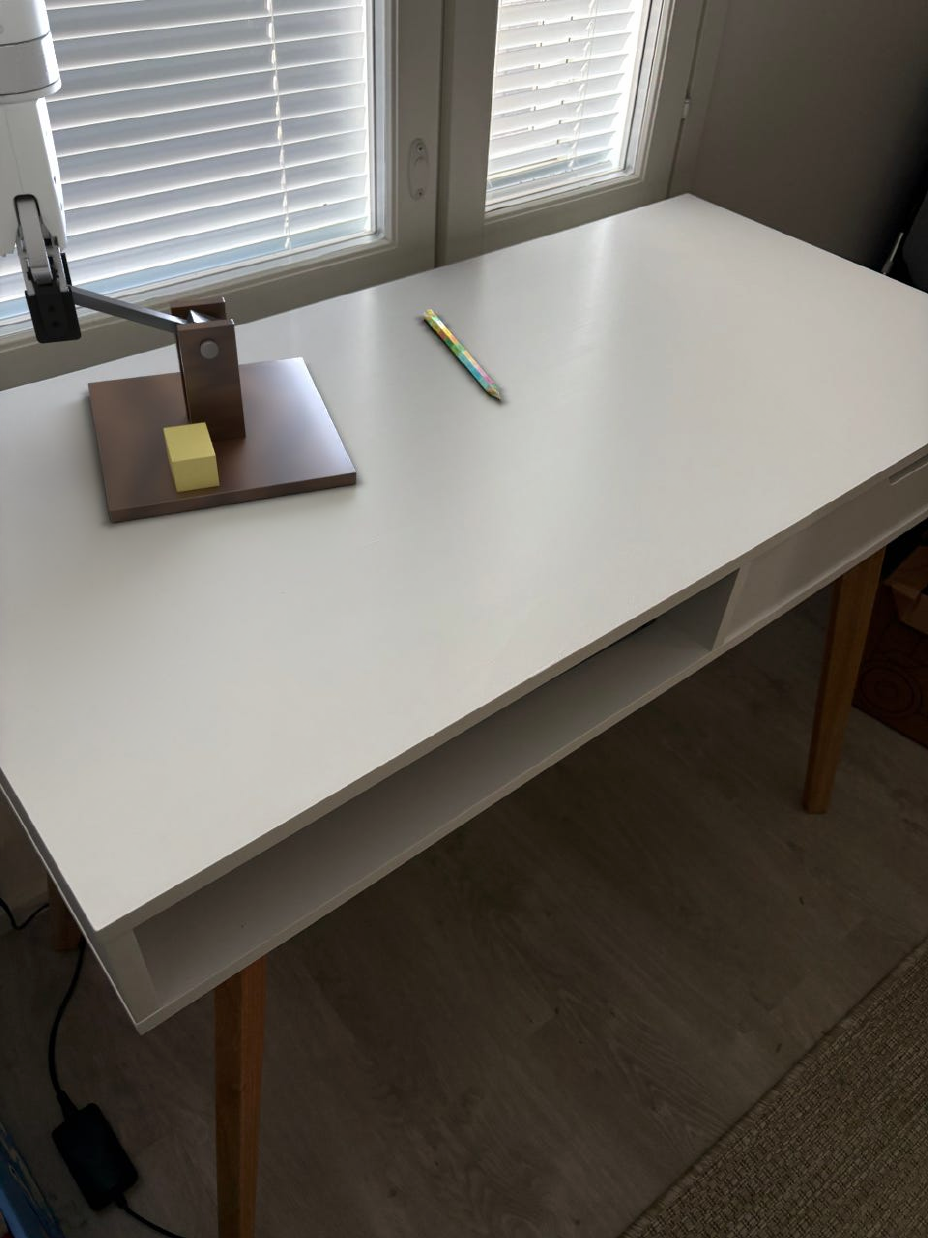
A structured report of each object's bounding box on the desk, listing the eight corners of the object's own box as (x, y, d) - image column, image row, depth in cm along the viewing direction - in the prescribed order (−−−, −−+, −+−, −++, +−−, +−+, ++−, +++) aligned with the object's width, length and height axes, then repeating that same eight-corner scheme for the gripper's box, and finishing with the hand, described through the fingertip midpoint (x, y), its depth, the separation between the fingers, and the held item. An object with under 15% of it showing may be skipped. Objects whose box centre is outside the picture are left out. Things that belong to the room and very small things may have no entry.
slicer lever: (37, 314, 75) (45, 285, 73) (34, 285, 78) (41, 256, 77) (220, 365, 82) (230, 339, 81) (210, 336, 86) (219, 311, 85)
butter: (219, 486, 82) (215, 455, 80) (177, 492, 81) (171, 461, 79) (209, 452, 86) (205, 421, 84) (168, 458, 85) (163, 427, 83)
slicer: (112, 523, 80) (81, 392, 72) (89, 394, 93) (62, 271, 85) (356, 483, 86) (353, 358, 78) (302, 367, 99) (295, 250, 91)
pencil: (506, 403, 97) (433, 317, 108) (507, 392, 96) (433, 308, 108) (494, 405, 96) (421, 319, 108) (495, 395, 96) (422, 310, 107)
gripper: (-66, 28, 70) (2, 278, 83) (-70, 107, 59) (9, 383, 71) (48, 25, 72) (97, 270, 85) (65, 100, 61) (119, 370, 73)
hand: (56, 319), depth 78 cm, fingers closed on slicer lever, 5 cm apart
